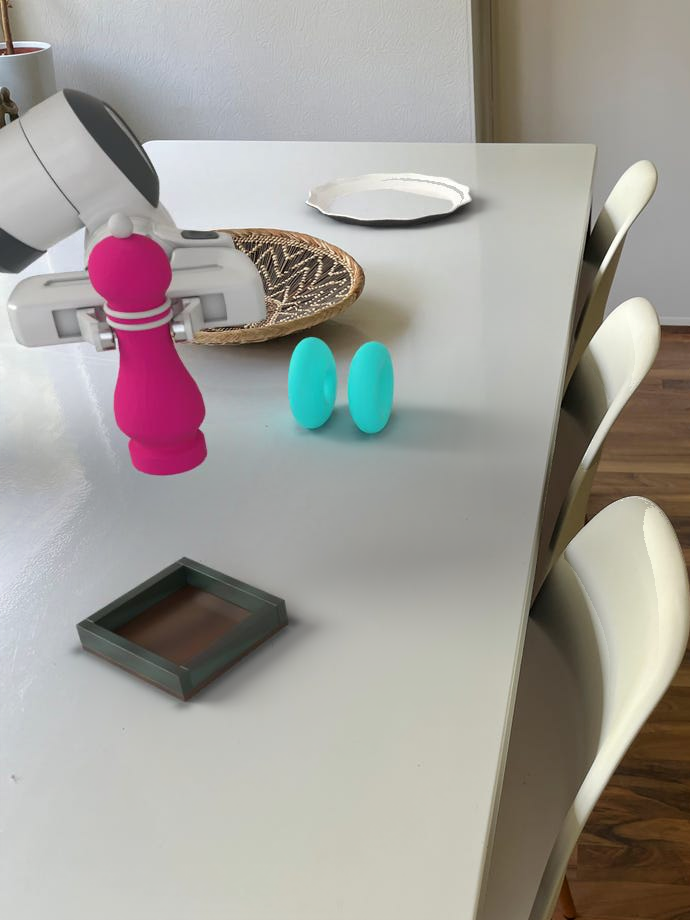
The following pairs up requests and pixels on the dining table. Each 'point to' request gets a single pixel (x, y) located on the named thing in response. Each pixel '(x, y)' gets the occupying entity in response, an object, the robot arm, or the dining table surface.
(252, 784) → the dining table surface
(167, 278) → the pepper mill
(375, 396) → the donuts
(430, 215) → the plate
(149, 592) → the square tray
